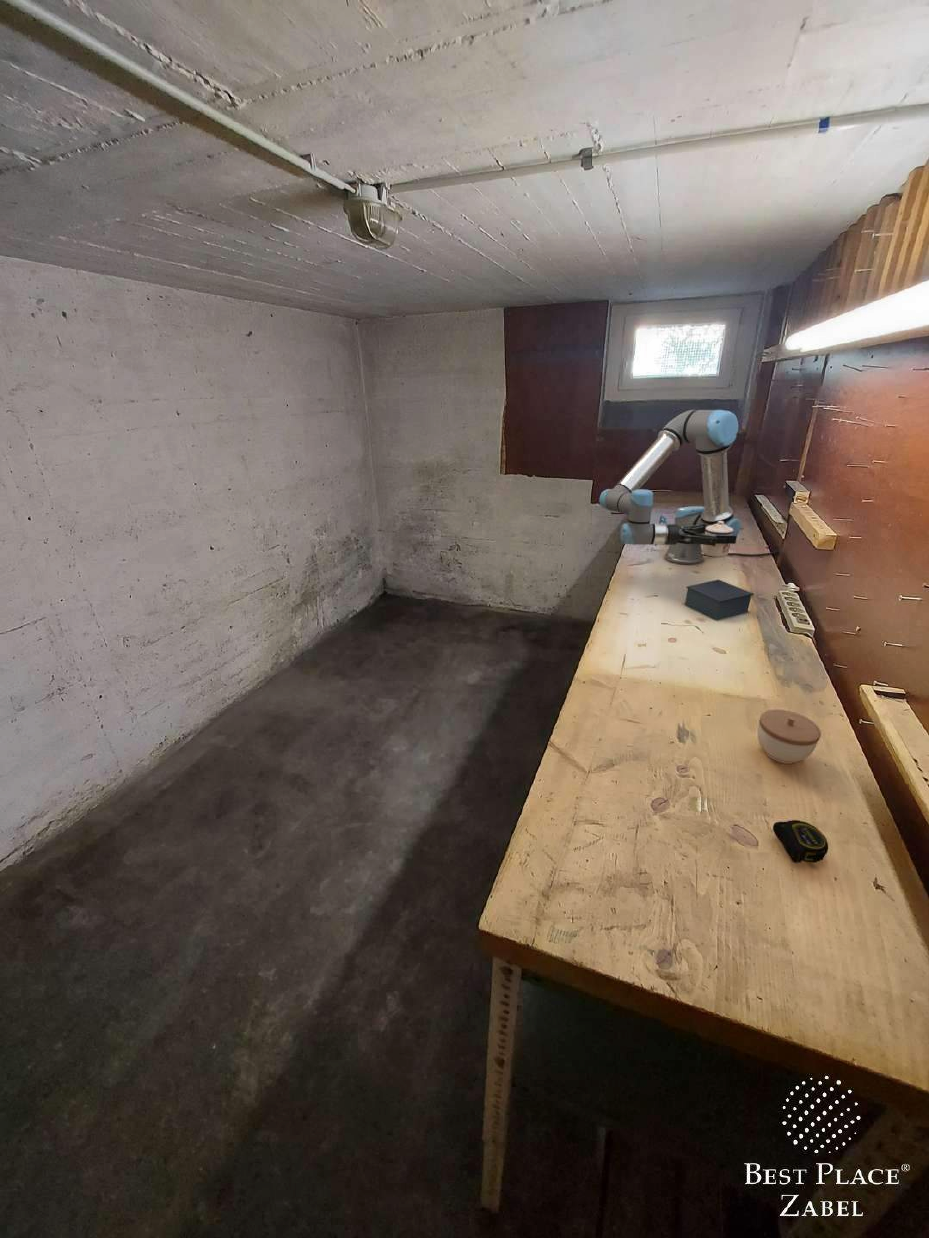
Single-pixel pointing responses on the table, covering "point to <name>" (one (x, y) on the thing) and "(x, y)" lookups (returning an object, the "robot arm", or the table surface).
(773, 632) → the table surface
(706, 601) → the storage box
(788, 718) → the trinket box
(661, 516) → the label tape box
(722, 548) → the teacup with lid
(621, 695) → the table surface
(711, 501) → the robot arm
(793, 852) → the tape measure
